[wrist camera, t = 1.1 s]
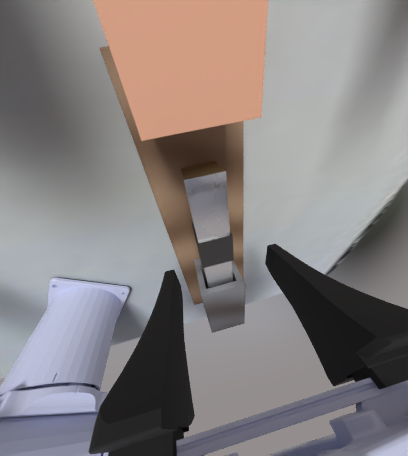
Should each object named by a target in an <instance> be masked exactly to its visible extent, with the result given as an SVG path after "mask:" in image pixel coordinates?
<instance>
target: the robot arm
mask: <svg viewBox="0 0 408 456" xmlns="http://www.w3.org/2000/svg"><path fill="white" fill-rule="evenodd" d="M265 264H266V266H267V268H268V270H269V272H270V274H271V275H272V277H273V278H274V280H275V281H276V283H277V284H278V286H279V287H280V289H281V290H282V292H283V293H284V294H285V296H286V298H287V299H288V301H289V302H290V304H291V305H292V307H293V309H294V310H295V312H296V314H297V316H298V318H299V319H300V321H301V323H302V325H303V327H304V329H305V331H306V333H307V334H308V337H309V339H310V341H311V342H312V345H313V347H314V349H315V351H316V353H317V355H318V357H319V359H320V361H321V364H322V365H323V368H324V370H325V372H326V375H327V377H328V379H329V380H330V382H331V383H332V385H333V386H336V385H339V384H343V383H345V382H349V381H352V380H355V383H351V384H348V385H346V386H342V387H339V388H337V389H333V390H330V391H327V392H324V393H321V394H318V395H315V396H312V397H309V398H306V399H303V400H299V401H297V402H294V403H291V404H287V405H284V406H281V407H278V408H275V409H273V410H269V411H266V412H263V413H260V414H257V415H254V416H251V417H248V418H244V419H241V420H238V421H235V422H232V423H229V424H226V425H223V426H220V427H217V428H214V429H211V430H208V431H205V432H202V433H199V434H196V435H192V436H190V437H187V438H184V435H183V432H187V431H189V425H191V423H192V421H193V419H194V409H193V403H192V396H191V389H190V382H189V375H188V367H187V359H186V351H185V342H184V330H183V329H184V328H183V299H182V291H181V285H180V283H179V280H178V278H177V275H176V273H175V271H174V270H170V271H166V272H165V274H164V278H163V282H162V286H161V289H160V292H159V295H158V298H157V301H156V304H155V307H154V309H153V312H152V314H151V317H150V319H149V321H148V324H147V326H146V328H145V330H144V332H143V334H142V336H141V338H140V340H139V342H138V345H137V346H136V348H135V350H134V352H133V354H132V355H131V357H130V359H129V361H128V362H127V364H126V366H125V367H124V369H123V371H122V373H121V374H120V376H119V377H118V379H117V381H116V382H115V384H114V385H113V387H112V388H111V390H110V391H109V393H108V395H107V393H106V392H100V388H101V384H102V380H103V375H104V371H105V367H106V363H107V358H108V354H109V350H110V346H111V341H112V337H113V333H114V328H115V324H116V321H117V319H118V316H119V314H120V312H121V309H122V307H123V305H124V303H125V300H126V298H127V296H128V294H129V291H130V288H129V287H127V286H120V285H112V284H103V283H95V282H87V281H79V280H71V279H63V278H52V279H51V280H50V282H49V295H48V308H47V310H46V311H45V313H44V315H43V316H42V318H41V320H40V321H39V323H38V325H37V326H36V328H35V330H34V331H33V333H32V335H31V336H30V338H29V340H28V341H27V343H26V345H25V346H24V348H23V350H22V351H21V353H20V355H19V356H18V358H17V360H16V361H15V363H14V365H13V366H12V368H11V370H10V371H9V373H8V375H7V376H6V378H5V380H4V381H3V383H2V385H1V386H0V456H204V455H205V454H208V453H211V452H214V451H217V450H219V449H223V448H226V447H229V446H232V445H234V444H238V443H240V442H244V441H246V440H249V439H252V438H255V437H258V436H261V435H264V434H267V433H270V432H273V431H276V430H279V429H282V428H285V427H288V426H291V425H294V424H297V423H300V422H303V421H306V420H309V419H312V418H315V417H317V416H320V415H323V414H326V413H329V412H333V411H335V410H338V409H341V408H344V407H347V406H350V405H353V404H356V403H357V404H356V412H354V413H350V414H346V415H343V416H340V417H338V418H335V419H333V420H330V425H331V426H332V428H333V430H334V432H335V434H332V435H329V436H326V437H322V438H319V439H316V440H312V441H309V442H306V443H303V444H299V445H296V446H293V447H290V448H287V449H284V450H281V451H278V452H275V453H273V454H270V455H267V456H408V309H406V308H403V307H400V306H397V305H394V304H391V303H388V302H385V301H383V300H380V299H378V298H375V297H372V296H370V295H367V294H365V293H362V292H360V291H358V290H355V289H353V288H351V287H349V286H346V285H344V284H342V283H340V282H338V281H336V280H334V279H332V278H330V277H328V276H326V275H324V274H322V273H320V272H319V271H317V270H315V269H314V268H312V267H310V266H308V265H307V264H305V263H304V262H302V261H300V260H299V259H297V258H296V257H294V256H293V255H291V254H290V253H288V252H287V251H285V250H284V249H282V248H281V247H279V246H278V245H276V244H273V245H269V246H268V247H267V255H266V262H265ZM106 395H107V396H106ZM226 456H238V453H232V454H229V455H226Z"/></svg>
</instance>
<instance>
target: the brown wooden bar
mask: <svg viewBox="0 0 408 456" xmlns="http://www.w3.org/2000/svg"><path fill="white" fill-rule="evenodd" d="M100 51H101V54H102V56H103V59H104V62H105V64H106V67H107V70H108V72H109V75H110V78H111V81H112V83H113V86H114V89H115V91H116V94H117V97H118V99H119V102H120V105H121V108H122V110H123V113H124V116H125V118H126V121H127V124H128V126H129V129H130V132H131V135H132V137H133V140H134V143H135V145H136V148H137V151H138V153H139V156H140V159H141V162H142V164H143V167H144V170H145V172H146V175H147V178H148V180H149V183H150V186H151V189H152V191H153V194H154V197H155V199H156V202H157V205H158V207H159V210H160V213H161V216H162V218H163V221H164V224H165V226H166V229H167V232H168V234H169V237H170V240H171V243H172V245H173V248H174V251H175V253H176V256H177V259H178V262H179V264H180V267H181V270H182V272H183V275H184V278H185V280H186V283H187V286H188V289H189V291H190V294H191V297H192V299H193V302H194V305H196V304H199V303H203V304H204V307H205V310H206V314H207V317H208V320H209V324H210V327H211V330H212V332H216V331H220V330H223V329H226V328H230V327H233V326H236V325H240V324H244V312H245V310H244V309H245V283H244V281H243V121H240V122H235V123H230V124H225V125H220V126H215V127H209V128H204V129H199V130H194V131H189V132H184V133H179V134H174V135H169V136H164V137H159V138H154V139H149V140H144V141H141V138H140V135H139V132H138V129H137V126H136V123H135V120H134V117H133V115H132V112H131V109H130V106H129V103H128V100H127V97H126V94H125V91H124V88H123V85H122V83H121V80H120V77H119V74H118V71H117V68H116V65H115V62H114V59H113V56H112V54H111V51H110V48H109V46H108V47H102V48H100ZM212 161H216V162H217V163H218V164H219V165H220V166H221V167H222V168H223V169H224V170H225V171H226V178H227V193H228V209H229V225H230V231H231V233H232V235H233V253H234V260H233V261H232V272H233V282H230V283H227V284H223V285H219V286H215V287H212V288H208V284H207V280H206V275H205V271H204V268H202V264H201V260H200V256H199V252H198V248H197V244H196V239H195V235H194V231H193V227H192V223H193V220H192V216H191V211H190V207H189V203H188V198H187V194H186V190H185V186H184V181H183V177H182V173H181V169H180V168H184V167H189V166H193V165H198V164H203V163H207V162H212Z"/></svg>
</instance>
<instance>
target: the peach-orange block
mask: <svg viewBox="0 0 408 456" xmlns="http://www.w3.org/2000/svg"><path fill="white" fill-rule="evenodd" d="M93 1H94V4H95V7H96V10H97V13H98V16H99V19H100V22H101V24H102V27H103V30H104V33H105V36H106V39H107V42H108V45H109V48H110V51H111V54H112V56H113V59H114V62H115V65H116V68H117V71H118V74H119V77H120V80H121V83H122V85H123V88H124V91H125V94H126V97H127V100H128V103H129V106H130V109H131V112H132V115H133V117H134V120H135V123H136V126H137V129H138V132H139V135H140V138H141V141H144V140H149V139H154V138H159V137H164V136H169V135H174V134H179V133H184V132H189V131H194V130H199V129H204V128H209V127H215V126H220V125H225V124H230V123H235V122H240V121H245V120H250V119H255V118H260V117H261V114H262V97H263V80H264V63H265V46H266V28H267V11H268V0H93Z"/></svg>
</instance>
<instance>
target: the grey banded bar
mask: <svg viewBox="0 0 408 456" xmlns="http://www.w3.org/2000/svg"><path fill="white" fill-rule="evenodd" d="M180 169H181V173H182V177H183V181H184V186H185V190H186V194H187V198H188V203H189V207H190V211H191V216H192V220H193V223H192V227H193V231H194V235H195V239H196V244H197V248H198V252H199V256H200V260H201V264H202V268H204V271H205V275H206V280H207V284H208V288H212V287H215V286H219V285H223V284H227V283H230V282H233V272H232V261H233V260H234V253H233V235H232V233H231V231H230V225H229V209H228V193H227V178H226V171H225V170H224V169H223V168H222V167H221V166H220V165H219V164H218V163H217V162H216V161H212V162H207V163H203V164H198V165H193V166H189V167H184V168H180Z"/></svg>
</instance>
